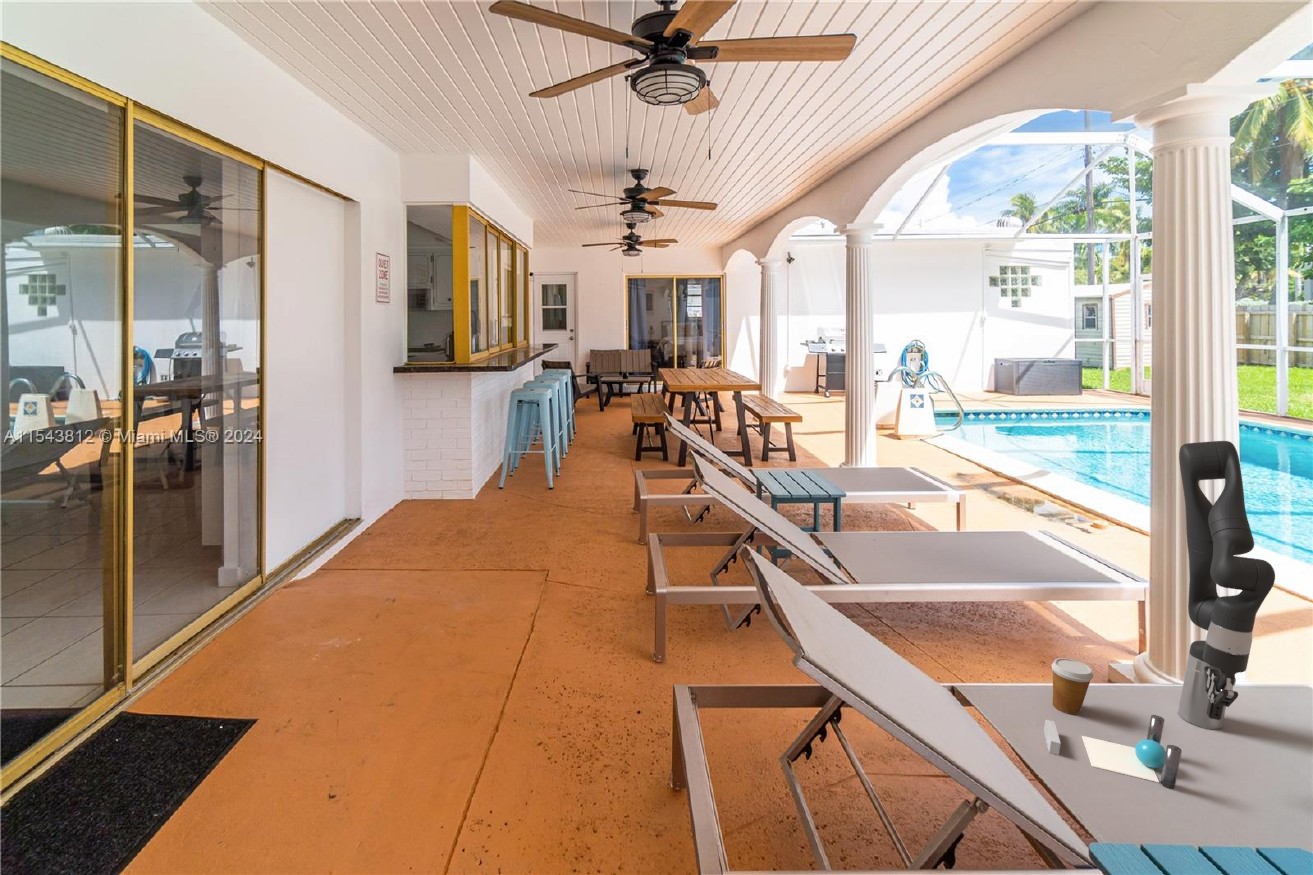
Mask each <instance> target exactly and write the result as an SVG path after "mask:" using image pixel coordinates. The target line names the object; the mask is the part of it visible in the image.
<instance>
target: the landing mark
mask: <svg viewBox="0 0 1313 875" xmlns="http://www.w3.org/2000/svg"><path fill="white" fill-rule="evenodd" d="M1081 738H1082V741H1083V742H1082V743H1083V745H1084V747H1085V750H1086V754H1087V756H1088V759H1089V761H1090V762H1089V763H1090V765H1091V767H1092V768H1097V769H1101V770H1105V771H1108V772H1112V773H1117V774H1122V775H1125V776H1130V777H1134V778H1137V779H1141V778H1142V779H1141V780H1145V779H1146V781H1150V782H1153V781H1154V783H1157V784H1160V781H1159V779H1158V777H1157V774H1156V772H1155V770H1154V768H1151V767H1148V766H1146V765H1144V764H1143V763H1141V762H1140V761H1139V759H1138V758H1137V756H1136V753H1135V748H1136V747H1132V746H1129V745H1123V744H1119V743H1114V742H1112V741H1111V742H1110V741H1106V740H1103V739H1098V738H1094V737H1089V736H1085V735H1081Z"/></svg>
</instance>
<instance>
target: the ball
mask: <svg viewBox="0 0 1313 875" xmlns="http://www.w3.org/2000/svg"><path fill="white" fill-rule="evenodd" d="M1134 748H1135V753H1136V756H1137V758H1138V759H1139V761H1140V762H1141V763H1143V764H1144V765H1146V766H1148V767H1151V768H1153V769H1159V768H1161V767H1162V768H1163V765H1164V760H1165V755H1166V749H1165V748H1164V746H1162V745H1161V743H1160V744H1159V743H1158V742H1156V741H1153V740H1147V739H1142V740H1139V742H1137V743H1136V746H1135V747H1134Z"/></svg>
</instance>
